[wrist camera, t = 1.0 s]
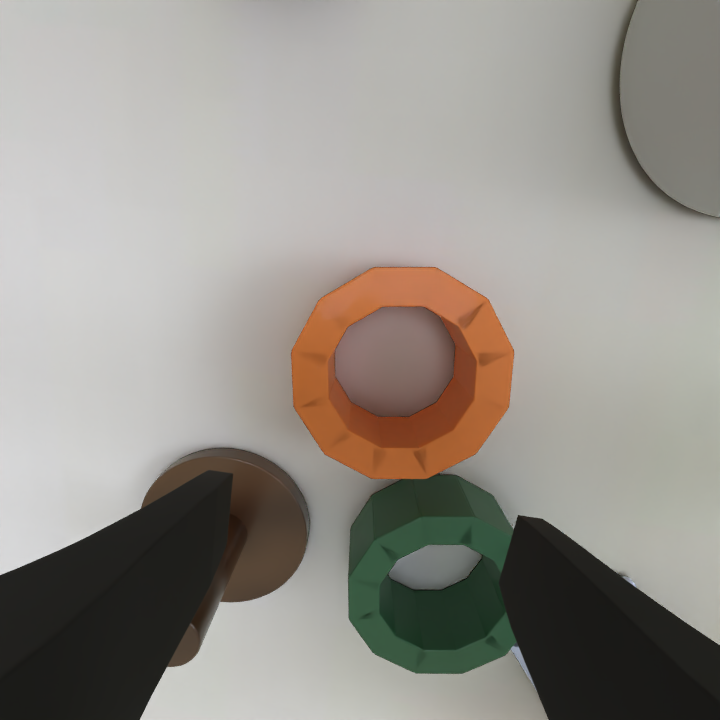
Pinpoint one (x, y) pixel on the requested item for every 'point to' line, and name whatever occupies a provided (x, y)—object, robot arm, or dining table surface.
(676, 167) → the cylinder vase
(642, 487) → the dining table surface
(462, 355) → the orange ring
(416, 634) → the green ring
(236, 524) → the dark brown cylinder peg
